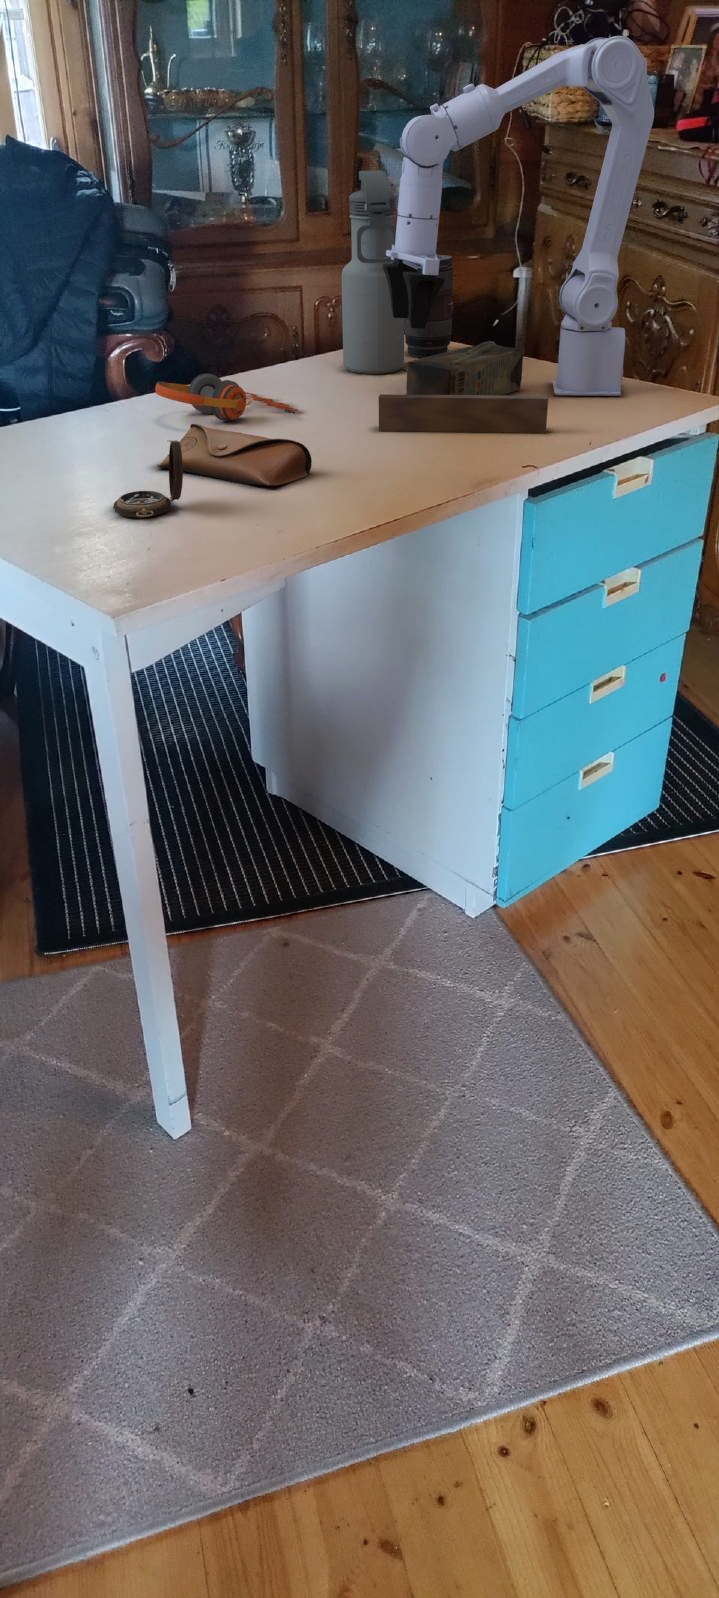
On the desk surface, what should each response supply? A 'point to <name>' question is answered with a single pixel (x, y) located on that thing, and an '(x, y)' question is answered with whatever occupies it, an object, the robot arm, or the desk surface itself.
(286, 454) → the sunglasses case
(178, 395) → the headphones
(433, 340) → the camera lens
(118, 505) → the compass
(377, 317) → the water bottle
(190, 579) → the desk surface
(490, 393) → the beverage carton
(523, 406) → the backstop rail
